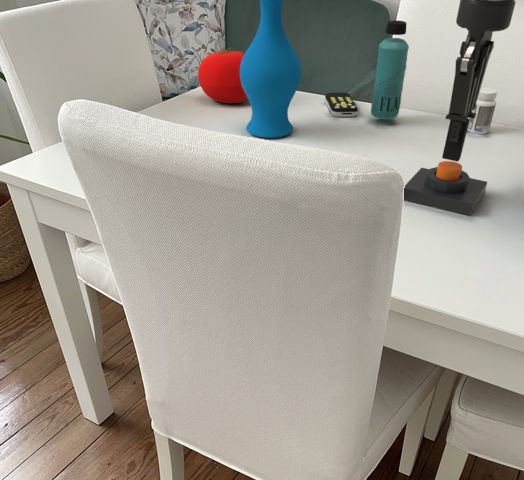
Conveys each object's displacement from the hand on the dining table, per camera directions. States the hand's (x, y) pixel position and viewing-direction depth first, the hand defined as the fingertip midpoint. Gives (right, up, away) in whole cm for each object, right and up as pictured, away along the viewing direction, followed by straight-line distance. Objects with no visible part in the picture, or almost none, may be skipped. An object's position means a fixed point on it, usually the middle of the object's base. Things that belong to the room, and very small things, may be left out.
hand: (451, 158), depth 96 cm
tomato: (-40, +29, +44) cm, 66 cm away
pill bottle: (+16, +16, +29) cm, 37 cm away
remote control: (-13, +25, +40) cm, 49 cm away
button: (0, -3, +2) cm, 3 cm away
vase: (-30, +15, +28) cm, 44 cm away
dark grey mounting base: (0, -5, +4) cm, 7 cm away
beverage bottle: (-4, +20, +34) cm, 39 cm away
